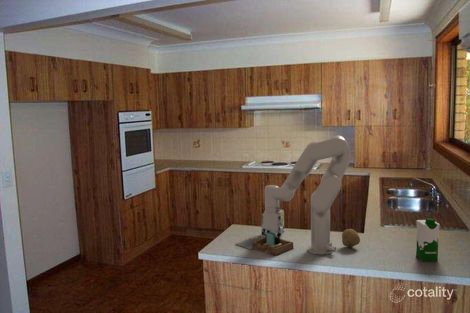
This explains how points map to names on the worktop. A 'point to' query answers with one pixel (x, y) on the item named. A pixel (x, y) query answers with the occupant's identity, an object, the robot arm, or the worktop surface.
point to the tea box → (270, 231)
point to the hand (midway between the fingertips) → (272, 242)
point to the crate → (273, 250)
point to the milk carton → (427, 239)
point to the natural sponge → (350, 238)
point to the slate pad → (246, 244)
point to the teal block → (271, 238)
